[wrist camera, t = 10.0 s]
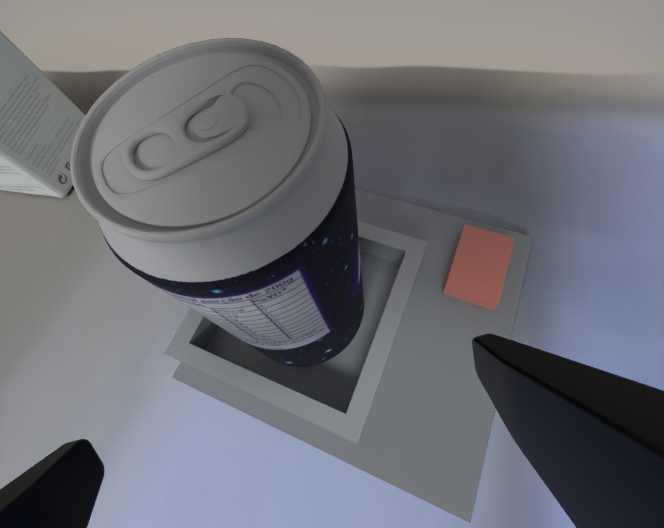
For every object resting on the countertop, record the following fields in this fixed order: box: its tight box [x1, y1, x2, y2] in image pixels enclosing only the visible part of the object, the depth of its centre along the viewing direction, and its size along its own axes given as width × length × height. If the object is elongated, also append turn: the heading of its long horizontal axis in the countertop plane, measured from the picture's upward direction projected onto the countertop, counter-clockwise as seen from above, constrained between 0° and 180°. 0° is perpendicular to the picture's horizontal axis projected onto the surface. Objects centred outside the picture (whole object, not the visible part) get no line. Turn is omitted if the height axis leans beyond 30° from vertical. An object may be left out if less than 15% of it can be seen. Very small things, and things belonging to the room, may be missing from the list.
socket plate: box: [165, 188, 533, 522], centre depth 17 cm, size 14×13×2 cm
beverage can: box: [70, 38, 364, 367], centre depth 12 cm, size 6×6×12 cm
